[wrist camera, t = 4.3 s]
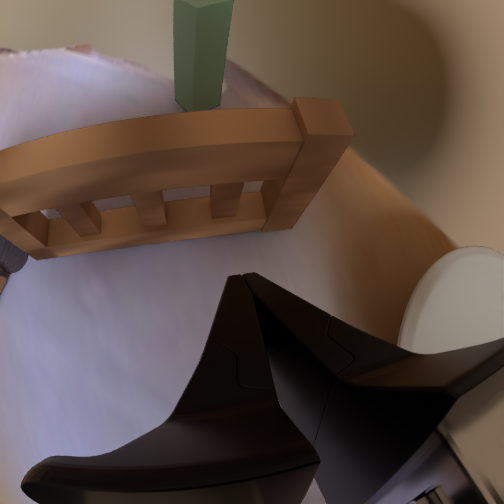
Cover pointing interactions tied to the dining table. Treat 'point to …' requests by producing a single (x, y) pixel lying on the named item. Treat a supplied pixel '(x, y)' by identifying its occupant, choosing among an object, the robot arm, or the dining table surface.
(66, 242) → the gate
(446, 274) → the dish
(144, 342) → the dining table surface
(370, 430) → the robot arm
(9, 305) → the dining table surface
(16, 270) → the wooden fence panel
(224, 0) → the post
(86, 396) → the dining table surface
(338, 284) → the dining table surface
